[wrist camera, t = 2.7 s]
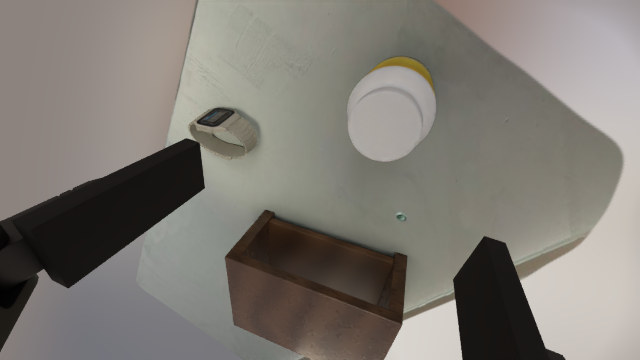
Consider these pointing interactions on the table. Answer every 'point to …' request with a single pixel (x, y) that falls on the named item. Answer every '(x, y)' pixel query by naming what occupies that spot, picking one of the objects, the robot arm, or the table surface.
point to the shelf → (315, 292)
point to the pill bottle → (391, 109)
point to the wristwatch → (223, 122)
